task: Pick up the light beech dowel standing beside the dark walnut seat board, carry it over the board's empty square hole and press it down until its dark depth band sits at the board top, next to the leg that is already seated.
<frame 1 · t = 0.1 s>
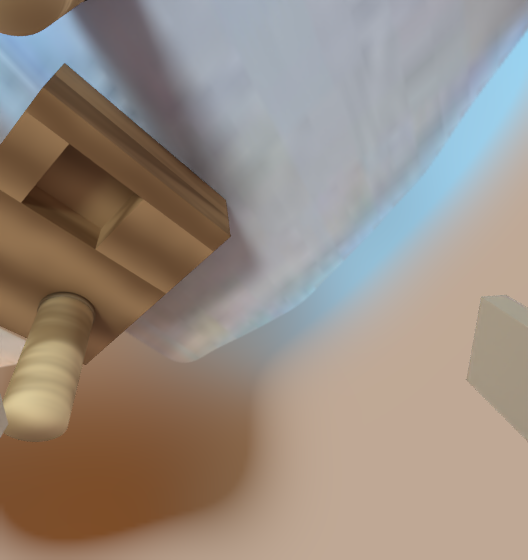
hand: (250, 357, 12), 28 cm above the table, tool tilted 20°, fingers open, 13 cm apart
seat board: (83, 218, 39), on the table
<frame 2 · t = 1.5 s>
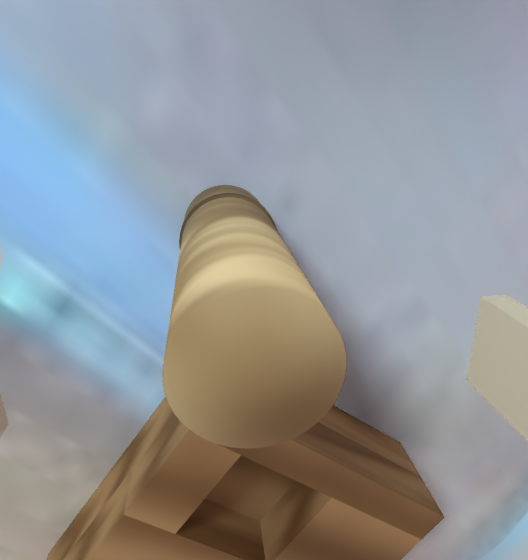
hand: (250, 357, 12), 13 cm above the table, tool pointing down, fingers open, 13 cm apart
beech peg: (225, 226, 23), on the table
seat board: (226, 497, 30), on the table
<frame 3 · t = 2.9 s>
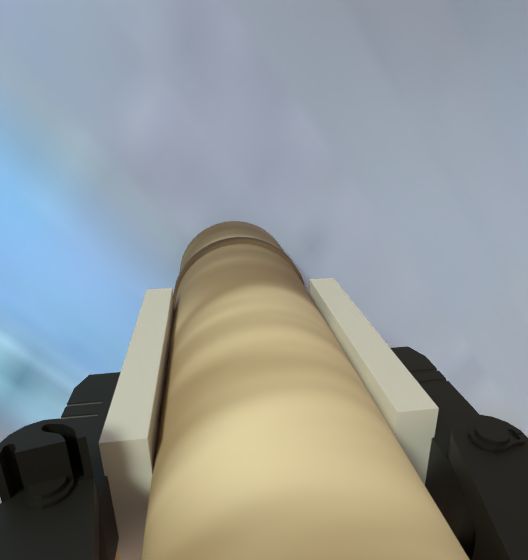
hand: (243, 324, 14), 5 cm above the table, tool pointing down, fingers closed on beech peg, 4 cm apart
beech peg: (234, 273, 18), on the table, touching gripper
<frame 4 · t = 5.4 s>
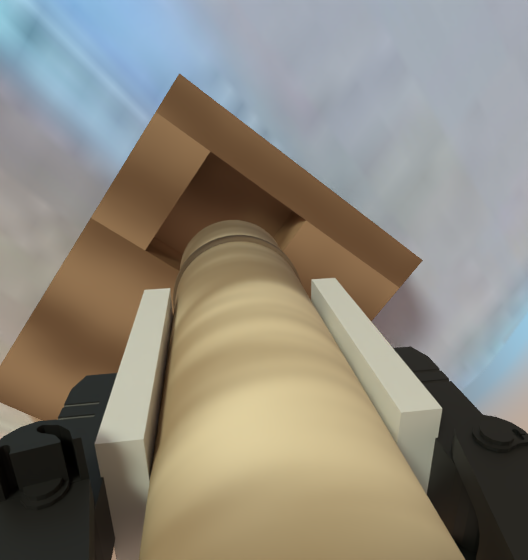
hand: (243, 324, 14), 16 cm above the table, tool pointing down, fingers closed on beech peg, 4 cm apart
beech peg: (232, 271, 18), point 11 cm above the table, touching gripper
seat board: (204, 286, 30), on the table
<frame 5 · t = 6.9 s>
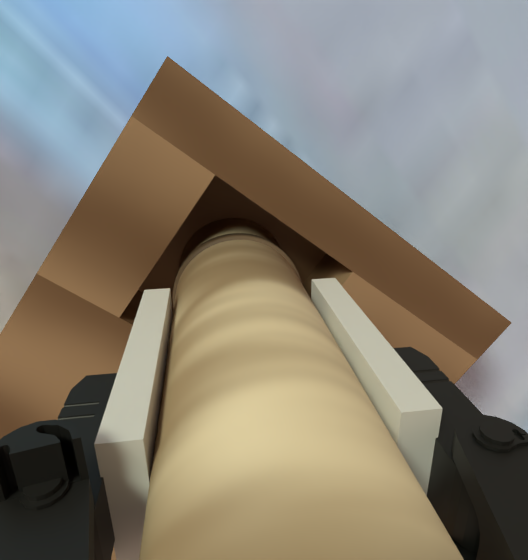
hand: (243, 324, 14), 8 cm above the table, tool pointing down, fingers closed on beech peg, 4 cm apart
beech peg: (232, 269, 18), point 3 cm above the table, touching gripper, seat board
seat board: (205, 343, 23), on the table
when the fingers open (8 cm above the table, at t = 7.8 s): beech peg stays where it is, resting on seat board.
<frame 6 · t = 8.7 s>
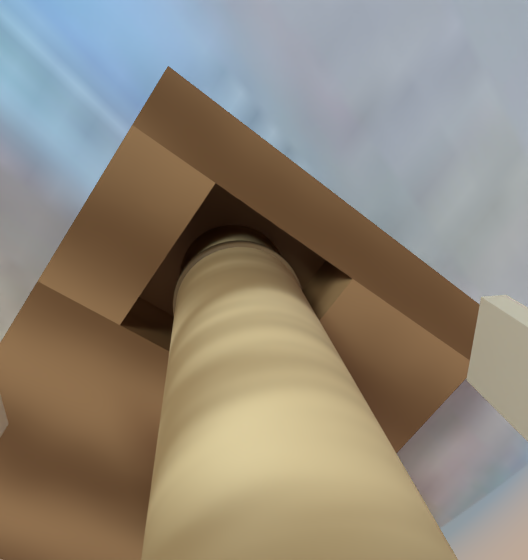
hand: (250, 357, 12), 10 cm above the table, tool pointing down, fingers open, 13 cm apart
beech peg: (233, 275, 18), point 3 cm above the table, touching seat board
seat board: (206, 349, 23), on the table
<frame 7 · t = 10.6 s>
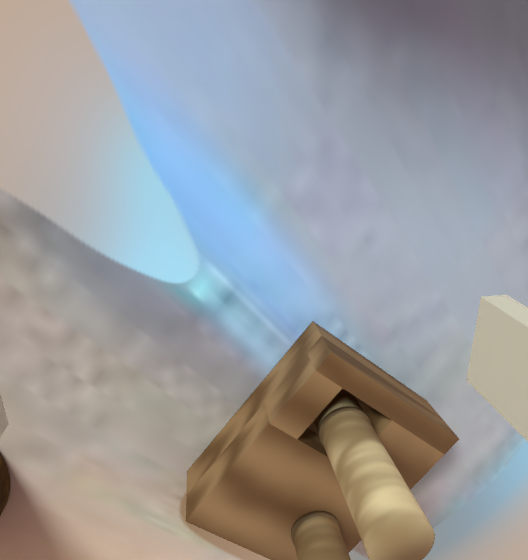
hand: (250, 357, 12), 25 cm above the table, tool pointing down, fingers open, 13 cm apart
beech peg: (334, 409, 40), point 3 cm above the table, touching seat board
seat board: (309, 435, 44), on the table
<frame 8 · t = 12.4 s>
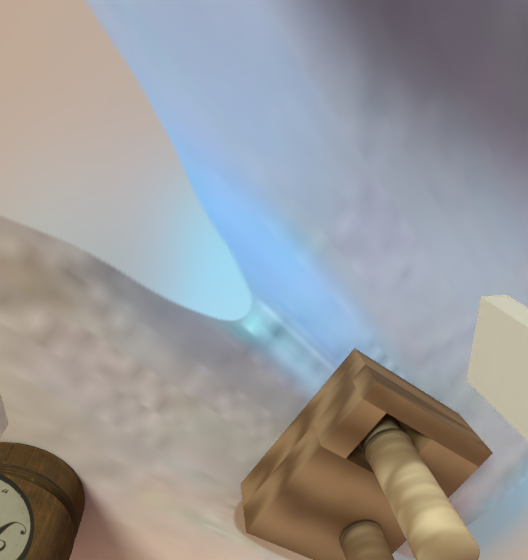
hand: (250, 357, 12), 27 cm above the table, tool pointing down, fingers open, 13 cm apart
beech peg: (376, 428, 44), point 3 cm above the table, touching seat board
wooden container: (10, 496, 45), on the table
seat board: (351, 449, 48), on the table
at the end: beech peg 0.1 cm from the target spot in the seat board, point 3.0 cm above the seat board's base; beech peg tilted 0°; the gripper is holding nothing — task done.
